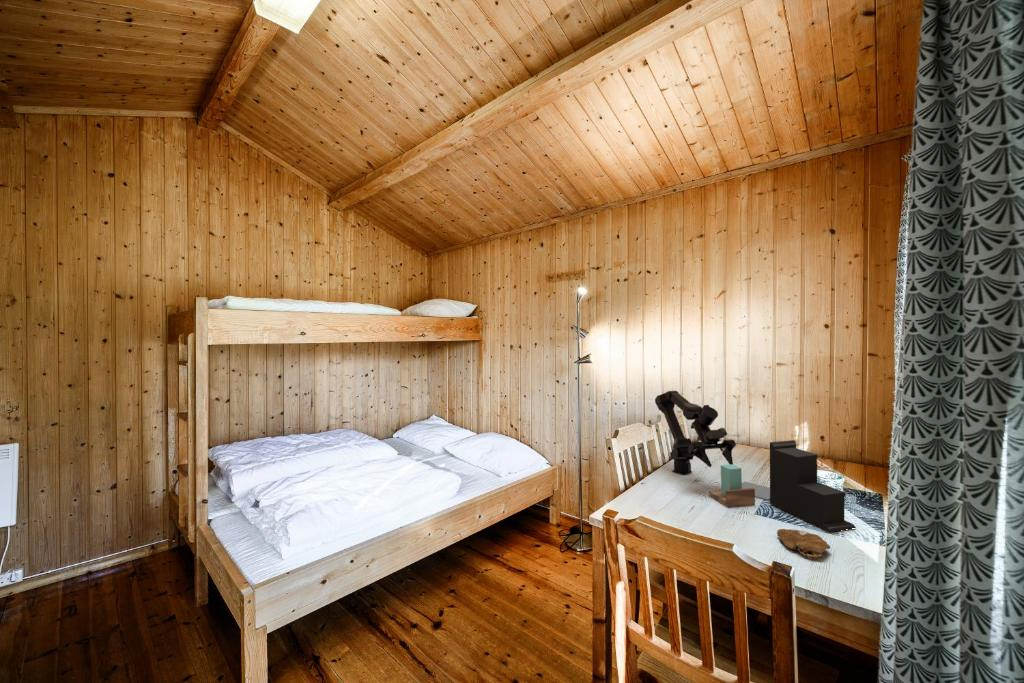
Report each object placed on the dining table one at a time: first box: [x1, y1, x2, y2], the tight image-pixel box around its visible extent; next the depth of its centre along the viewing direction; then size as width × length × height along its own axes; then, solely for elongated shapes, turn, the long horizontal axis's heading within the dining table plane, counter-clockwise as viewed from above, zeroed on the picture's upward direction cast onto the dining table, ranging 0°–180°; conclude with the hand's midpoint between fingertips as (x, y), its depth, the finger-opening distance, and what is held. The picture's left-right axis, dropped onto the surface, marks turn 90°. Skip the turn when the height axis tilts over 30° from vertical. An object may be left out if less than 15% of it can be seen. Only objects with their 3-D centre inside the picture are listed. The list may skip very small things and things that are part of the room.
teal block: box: [720, 463, 743, 496], centre depth 157 cm, size 5×5×11 cm
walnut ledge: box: [709, 488, 756, 508], centre depth 157 cm, size 11×11×6 cm
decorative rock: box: [776, 528, 831, 560], centre depth 122 cm, size 11×4×15 cm
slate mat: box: [742, 481, 770, 501], centre depth 166 cm, size 14×14×1 cm
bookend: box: [769, 439, 857, 533], centre depth 142 cm, size 23×11×24 cm, turn 12°
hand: (721, 465), depth 163 cm, fingers open, 9 cm apart
